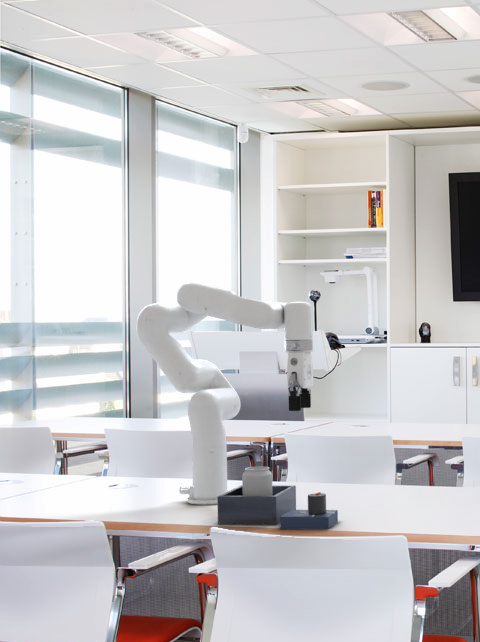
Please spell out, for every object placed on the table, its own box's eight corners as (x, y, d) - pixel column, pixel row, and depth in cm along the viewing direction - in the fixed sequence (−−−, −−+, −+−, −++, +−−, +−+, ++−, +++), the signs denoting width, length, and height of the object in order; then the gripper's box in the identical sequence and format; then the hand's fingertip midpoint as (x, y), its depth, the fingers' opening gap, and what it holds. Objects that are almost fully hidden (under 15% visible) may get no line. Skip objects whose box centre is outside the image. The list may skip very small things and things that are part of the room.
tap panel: (280, 529, 240) (279, 515, 240) (291, 521, 249) (290, 509, 249) (329, 529, 239) (329, 516, 239) (339, 521, 248) (338, 509, 247)
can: (278, 512, 257) (277, 465, 256) (263, 517, 250) (262, 469, 249) (253, 510, 259) (252, 464, 259) (237, 516, 252) (236, 468, 252)
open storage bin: (217, 524, 247) (217, 496, 247) (241, 511, 264) (240, 485, 264) (276, 524, 245) (275, 496, 245) (296, 511, 262) (295, 485, 262)
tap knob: (323, 514, 241) (322, 495, 241) (305, 514, 242) (305, 494, 242) (328, 511, 245) (328, 492, 245) (311, 511, 246) (311, 491, 246)
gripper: (303, 347, 263) (304, 412, 263) (320, 346, 280) (321, 406, 280) (275, 347, 264) (277, 412, 264) (294, 346, 281) (295, 406, 281)
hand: (300, 409), depth 272 cm, fingers open, 9 cm apart
